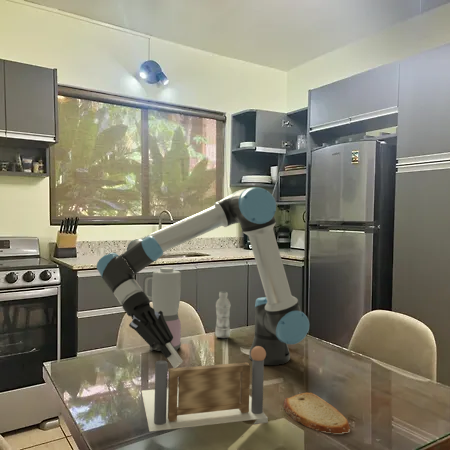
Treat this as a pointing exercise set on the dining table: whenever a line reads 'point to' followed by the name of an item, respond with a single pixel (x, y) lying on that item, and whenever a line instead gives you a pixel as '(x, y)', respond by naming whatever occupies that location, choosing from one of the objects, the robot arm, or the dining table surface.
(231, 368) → the gate
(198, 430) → the dining table surface
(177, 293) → the blender
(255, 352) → the gate frame
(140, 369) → the dining table surface
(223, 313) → the plastic bottle
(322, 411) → the slice of bread
